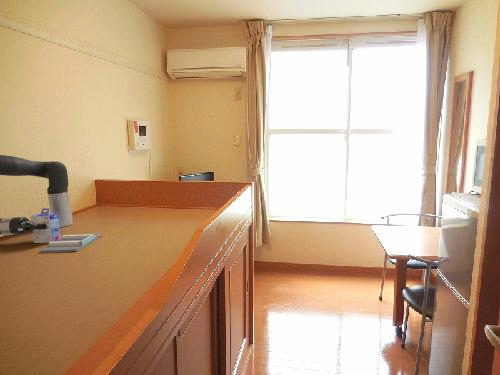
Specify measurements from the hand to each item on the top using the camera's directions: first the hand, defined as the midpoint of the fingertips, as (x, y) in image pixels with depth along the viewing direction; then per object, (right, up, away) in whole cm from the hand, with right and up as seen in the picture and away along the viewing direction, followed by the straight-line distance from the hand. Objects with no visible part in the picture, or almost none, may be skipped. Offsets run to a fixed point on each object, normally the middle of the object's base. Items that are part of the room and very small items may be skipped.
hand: (50, 224), depth 152 cm
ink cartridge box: (-2, -8, +1) cm, 8 cm away
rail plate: (+12, -8, -5) cm, 15 cm away
